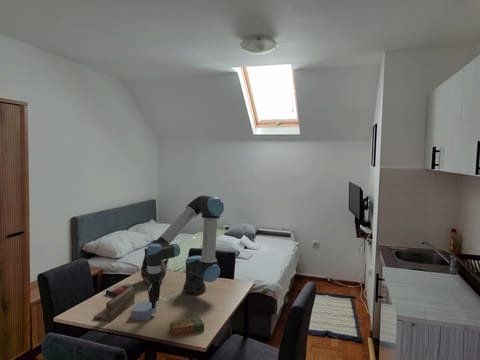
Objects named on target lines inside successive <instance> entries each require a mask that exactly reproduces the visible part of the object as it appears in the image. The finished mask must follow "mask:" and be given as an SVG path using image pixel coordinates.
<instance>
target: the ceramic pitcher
mask: <svg viewBox="0 0 480 360" xmlns="http://www.w3.org/2000/svg"><path fill="white" fill-rule="evenodd" d="M147 248H148V246H147ZM147 248H144V257H143V261H142V264H141V268H140V273H141V274H140V275H141V278H142V279H143V281H144V282H145V283H147V284H150V281H149V280H148V279H147V273H148V272H147ZM169 259H170V258H169ZM169 259H164V260H161V279H159V280H160V281H161V282H162V281H163V279H165V277H166V274H167V269H168V262H169Z"/></svg>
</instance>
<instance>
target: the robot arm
mask: <svg viewBox="0 0 480 360" xmlns="http://www.w3.org/2000/svg"><path fill="white" fill-rule="evenodd" d="M224 210H225V205H224V202H223V200H222V199H221V198H219V197H216V196H210V195H209V196H208V195H199V196H197V197H195V198H193V199H192V200H191V201H190V202H189V203H188V204H187V205H186V206H185V209H184V211H183V212H181V213H180V215H179V216H178V217H177V218H176V219H175V220H174V221H173V222H172V223H171V224H170V226H169V227H168V228H167V229H166V230H165V231H164V232H163V233H162V234H161V235H160V236H159V237H158V238H157V239H152V240H151V241H150V242H149V244H148V245H147V247H148V248H147V272H148V273H147V279H148V280H149V281H150V284H149V283H148V284H149V287H147V288H146V290H147V294H148V302H150V303H152V313H153V314H155V315H157V314H158V302H159V301H160V294H161V293H160V292H161V284H162V281H160V280H159V279H161V260H164V261H165V260H166V259H173V258H176V257H179V255H180V254H181V248H180V245H179V244H178V243H172V242H173V241H174V239H176V237H177V236H178V235H179V234H181V232H182V231H183V230H184V229H185V228H186V227H187V225H189V223H191V221H192V220H193V219H194V218H197V217H198V216H199V215H200V214H201V219H202V220H203V227H202V245H201V255H191V256H189V257H187V258H186V259H185V281H184V285H183V288H182V292H183V293H184V294H186V295H191V296H193V295H194V296H196V295H200V294H204V293H205V292H206V289H207V287H206V283H214V282H216V280H217V279H218V278H219V277H220V273H221V268H220V265H218V260H217V258H216V247H217V245H216V244H217V232H218V231H217V229H218V220H219V219H220V217H221V215H222V214H223V213H224ZM171 243H172V244H171ZM205 282H206V283H205ZM153 314H152V315H153Z"/></svg>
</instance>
